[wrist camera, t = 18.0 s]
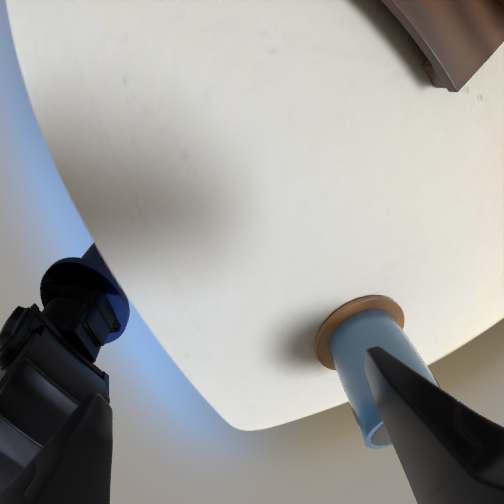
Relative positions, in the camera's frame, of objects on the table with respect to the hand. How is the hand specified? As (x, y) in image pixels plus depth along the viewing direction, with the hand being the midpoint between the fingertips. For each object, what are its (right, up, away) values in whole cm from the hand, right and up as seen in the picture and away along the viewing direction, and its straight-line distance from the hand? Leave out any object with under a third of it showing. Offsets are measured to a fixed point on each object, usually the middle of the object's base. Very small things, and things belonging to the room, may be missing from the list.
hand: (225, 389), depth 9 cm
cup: (+11, -4, +17) cm, 21 cm away
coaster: (+11, -3, +17) cm, 21 cm away
